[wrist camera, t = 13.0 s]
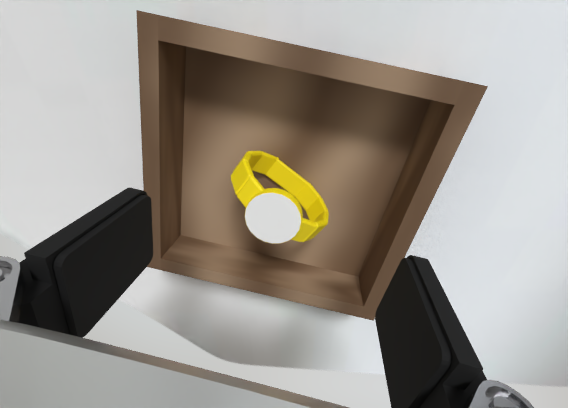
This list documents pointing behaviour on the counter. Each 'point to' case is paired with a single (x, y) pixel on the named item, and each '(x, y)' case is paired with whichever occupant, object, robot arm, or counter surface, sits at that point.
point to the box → (290, 158)
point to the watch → (277, 200)
